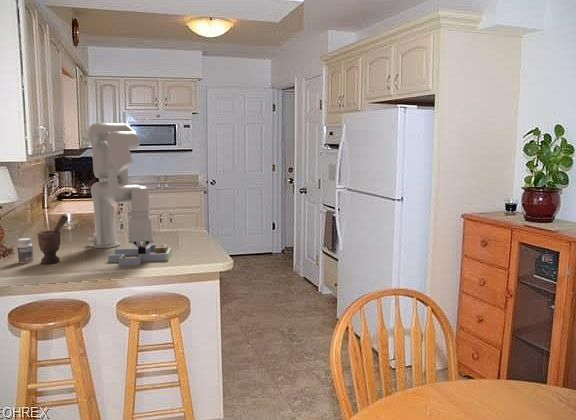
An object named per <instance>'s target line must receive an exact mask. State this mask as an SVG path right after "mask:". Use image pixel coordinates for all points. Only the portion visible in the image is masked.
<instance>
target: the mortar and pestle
mask: <svg viewBox="0 0 576 420" xmlns="http://www.w3.org/2000/svg"><path fill="white" fill-rule="evenodd" d="M68 219H69V217H68V216H67V215H64V214H63V215H61V216H60V218H59V219H58V221H57V223H56V226H55V227H54V228H53V229H52V230H51V229H50V230H42V231H38V232H37V241H38V243H37V244H38V247H39V249H40V251H41V252H42V253H43V257H42V258H41V260H40V264H42V265H43V264H44V265H50V264H56V263H59V262H61V260H60V257H59V256H58V255H57V252H58V251H59V249H60V245H61V231H60V230H61V229H62V228H63V226H64V225H65V224H66V223H67V221H68Z"/></svg>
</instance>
